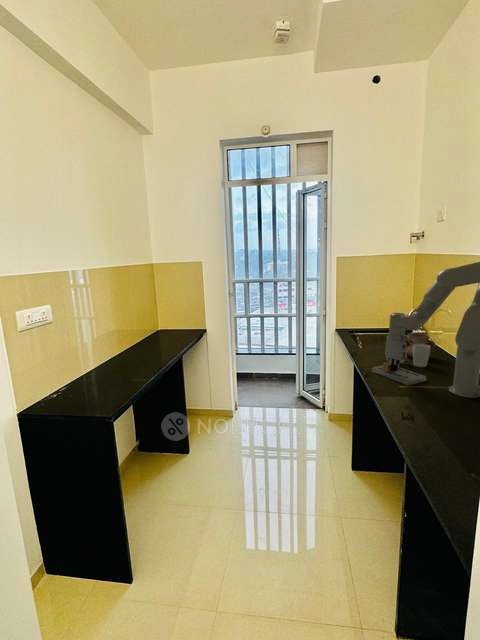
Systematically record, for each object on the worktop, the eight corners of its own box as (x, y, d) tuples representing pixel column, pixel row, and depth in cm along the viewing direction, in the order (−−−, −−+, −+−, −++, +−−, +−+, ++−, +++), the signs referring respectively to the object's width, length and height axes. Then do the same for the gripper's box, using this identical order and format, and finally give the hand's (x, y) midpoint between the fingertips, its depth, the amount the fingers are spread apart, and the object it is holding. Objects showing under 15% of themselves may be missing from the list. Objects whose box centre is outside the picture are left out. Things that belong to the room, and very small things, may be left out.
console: (425, 381, 171) (426, 376, 170) (408, 385, 165) (408, 380, 165) (388, 368, 191) (388, 363, 191) (371, 371, 186) (372, 367, 185)
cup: (411, 366, 193) (412, 346, 191) (411, 362, 201) (413, 342, 199) (429, 368, 189) (430, 348, 187) (428, 364, 197) (430, 344, 195)
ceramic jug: (401, 358, 209) (403, 336, 207) (401, 352, 222) (403, 331, 220) (434, 361, 202) (437, 338, 199) (433, 355, 214) (435, 333, 212)
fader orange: (393, 370, 178) (393, 363, 177) (387, 371, 177) (388, 364, 176) (388, 369, 181) (388, 361, 180) (382, 370, 179) (383, 363, 179)
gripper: (414, 339, 167) (411, 374, 170) (389, 333, 180) (387, 366, 183) (404, 341, 164) (401, 376, 167) (379, 334, 177) (377, 368, 180)
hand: (393, 371), depth 175 cm, fingers closed
